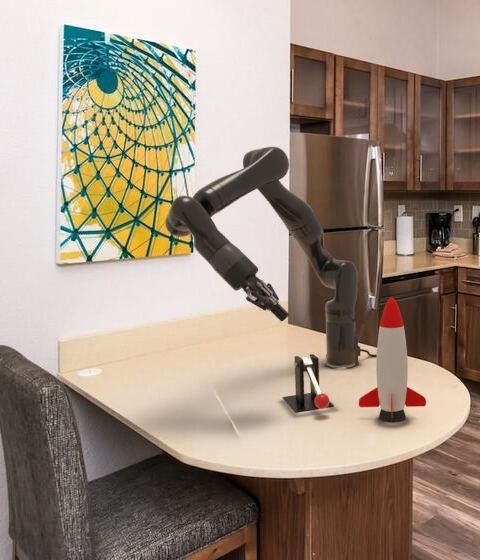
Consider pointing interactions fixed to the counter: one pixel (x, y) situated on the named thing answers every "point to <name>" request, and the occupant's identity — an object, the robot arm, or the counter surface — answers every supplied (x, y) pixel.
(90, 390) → the counter surface
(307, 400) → the bracket
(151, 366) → the counter surface
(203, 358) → the counter surface
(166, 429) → the counter surface
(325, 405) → the lever
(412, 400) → the toy rocket
